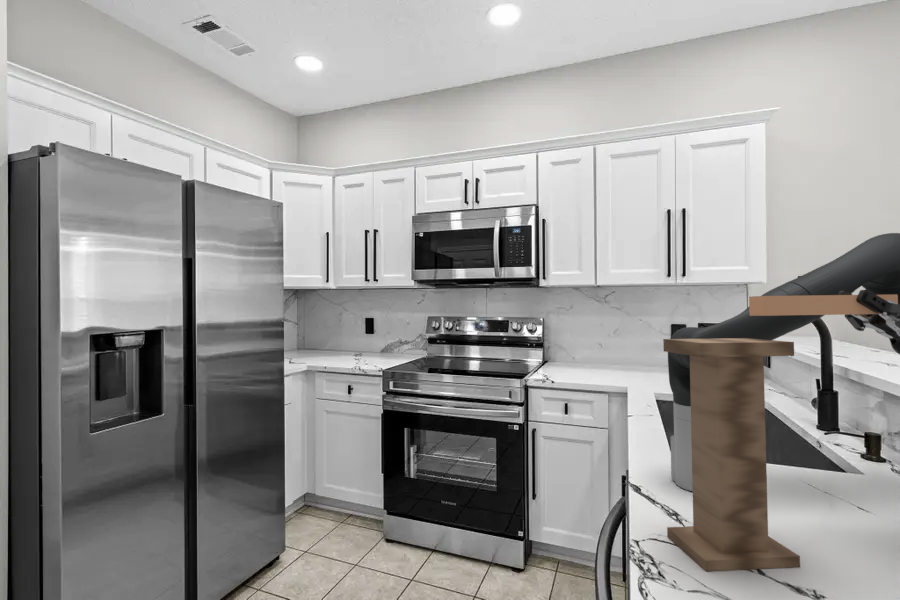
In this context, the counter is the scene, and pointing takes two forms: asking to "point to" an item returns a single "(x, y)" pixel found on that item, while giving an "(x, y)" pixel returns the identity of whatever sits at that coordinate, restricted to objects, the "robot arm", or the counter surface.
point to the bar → (810, 305)
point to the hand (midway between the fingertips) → (849, 295)
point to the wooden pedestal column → (729, 455)
